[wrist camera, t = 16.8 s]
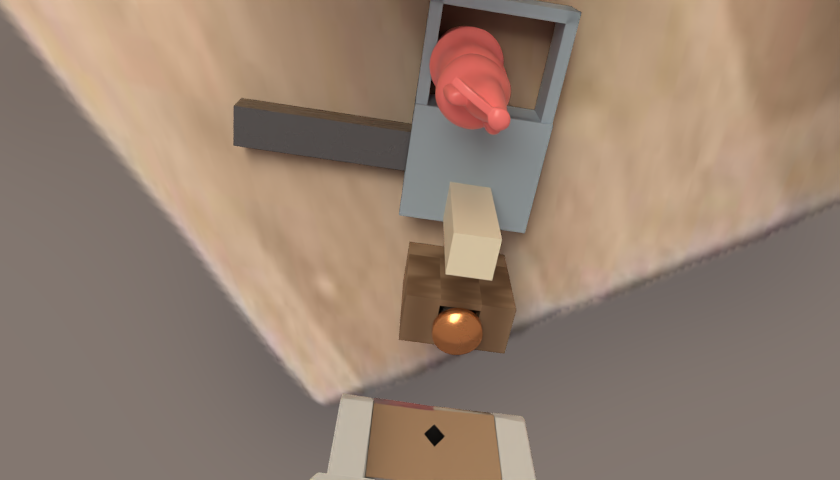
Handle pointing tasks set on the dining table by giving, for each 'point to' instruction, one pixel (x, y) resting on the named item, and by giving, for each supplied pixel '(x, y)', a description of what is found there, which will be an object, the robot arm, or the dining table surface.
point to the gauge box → (454, 298)
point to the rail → (321, 134)
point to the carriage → (482, 150)
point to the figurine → (471, 79)
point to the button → (456, 330)
